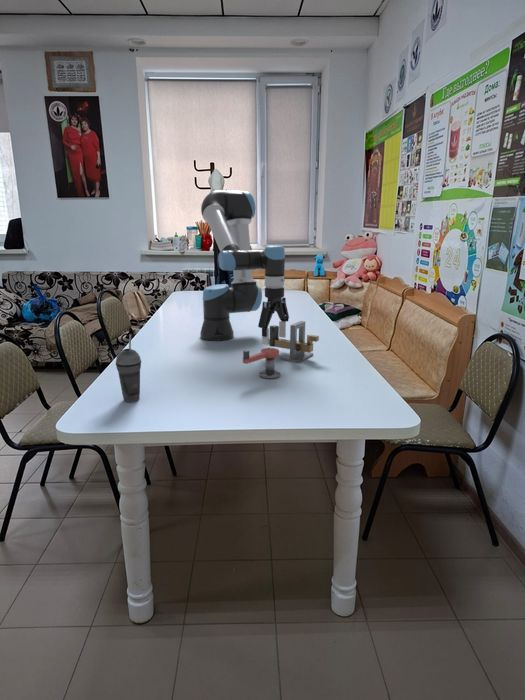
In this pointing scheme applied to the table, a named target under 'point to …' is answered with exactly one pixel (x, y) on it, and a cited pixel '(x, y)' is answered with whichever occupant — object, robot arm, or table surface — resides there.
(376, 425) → the table surface
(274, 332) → the hook bar
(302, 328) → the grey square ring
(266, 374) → the dark grey metal pedestal
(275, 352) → the red joystick lever
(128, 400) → the beverage cup
